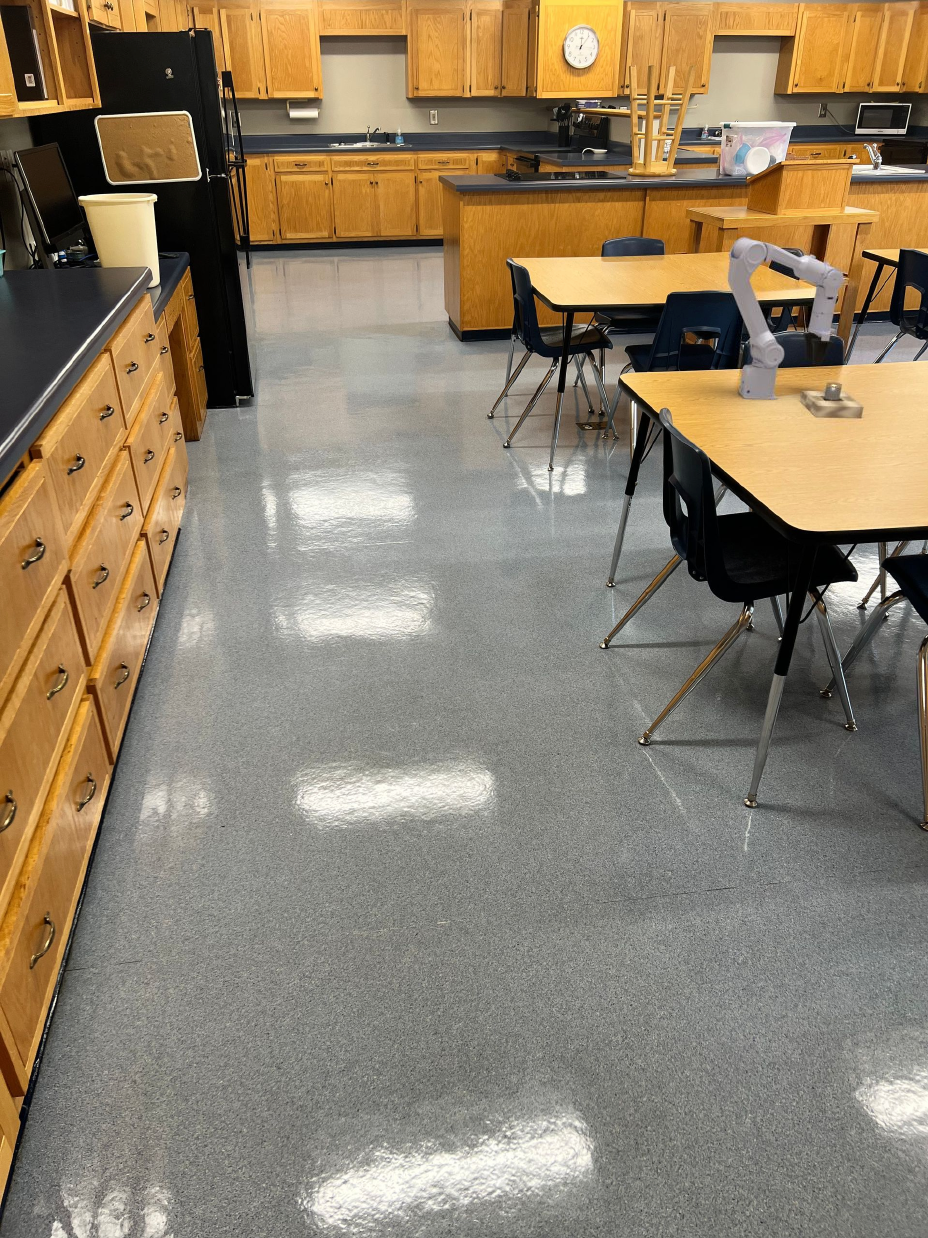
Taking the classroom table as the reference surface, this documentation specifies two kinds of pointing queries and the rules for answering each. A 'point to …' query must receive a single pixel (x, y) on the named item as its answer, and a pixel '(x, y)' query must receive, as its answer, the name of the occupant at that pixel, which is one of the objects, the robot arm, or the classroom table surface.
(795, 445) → the classroom table surface
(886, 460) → the classroom table surface
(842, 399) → the block
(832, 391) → the pin
